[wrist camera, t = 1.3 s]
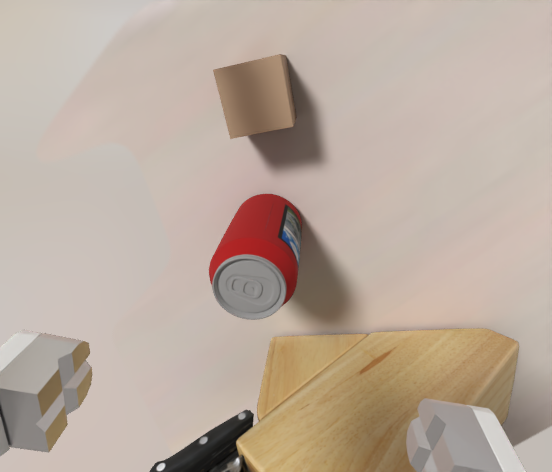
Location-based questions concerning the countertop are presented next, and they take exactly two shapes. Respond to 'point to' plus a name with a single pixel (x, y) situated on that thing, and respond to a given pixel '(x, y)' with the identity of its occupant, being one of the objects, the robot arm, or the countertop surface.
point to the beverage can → (258, 258)
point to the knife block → (353, 400)
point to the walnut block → (256, 96)
